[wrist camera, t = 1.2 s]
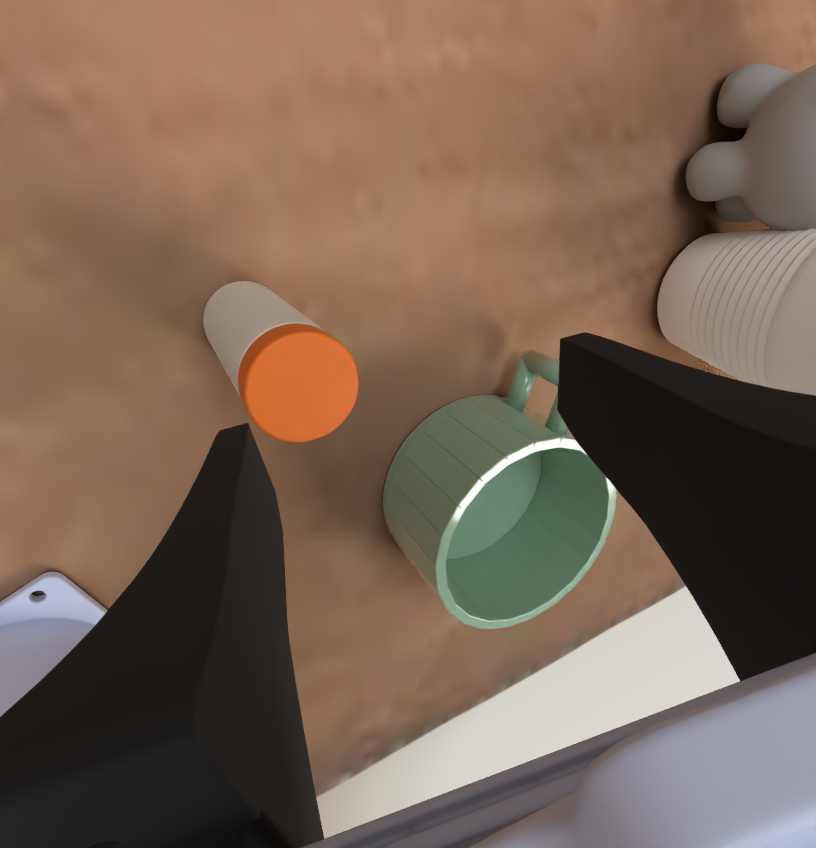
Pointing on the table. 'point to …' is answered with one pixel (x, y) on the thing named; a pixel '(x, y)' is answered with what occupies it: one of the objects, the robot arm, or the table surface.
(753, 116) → the chubby cartoon animal
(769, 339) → the cup
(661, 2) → the table surface
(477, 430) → the mug
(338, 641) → the table surface
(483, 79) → the table surface
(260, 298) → the glue stick
